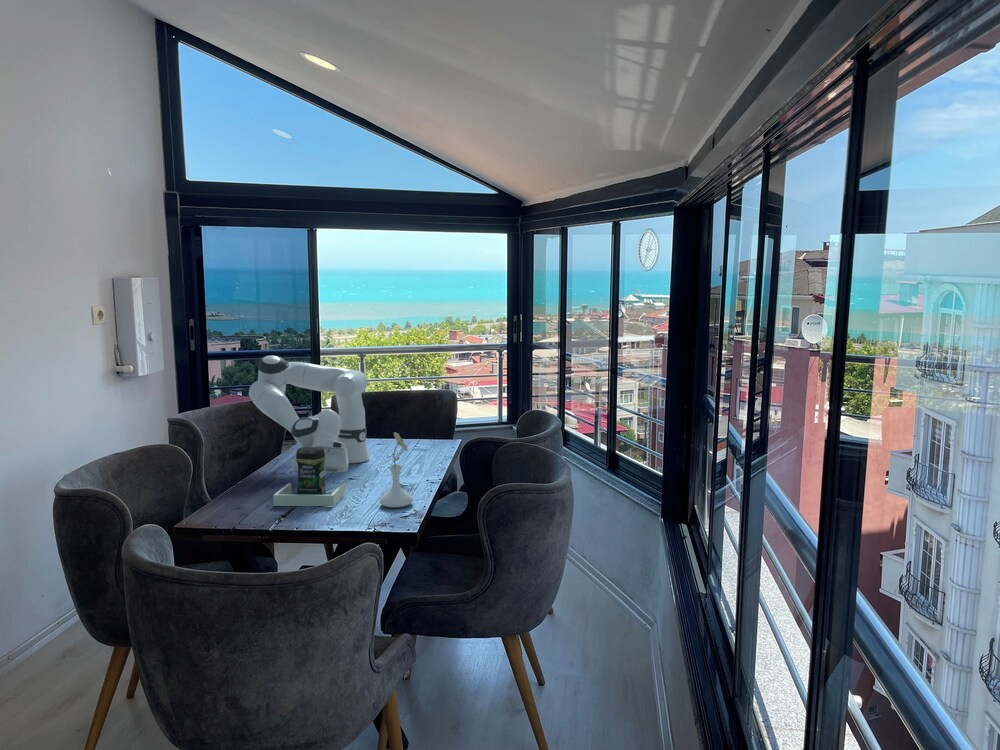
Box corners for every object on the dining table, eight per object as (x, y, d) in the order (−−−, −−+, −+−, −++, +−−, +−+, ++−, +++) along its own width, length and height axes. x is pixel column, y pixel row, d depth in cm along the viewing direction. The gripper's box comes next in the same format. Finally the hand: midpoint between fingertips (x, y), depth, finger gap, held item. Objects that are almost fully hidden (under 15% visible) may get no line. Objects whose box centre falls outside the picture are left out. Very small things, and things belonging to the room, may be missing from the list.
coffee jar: (293, 500, 229) (291, 449, 227) (304, 494, 237) (302, 444, 234) (319, 502, 227) (317, 450, 225) (329, 495, 235) (327, 445, 233)
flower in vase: (412, 510, 219) (411, 436, 216) (377, 511, 218) (376, 437, 215) (414, 498, 232) (413, 429, 229) (381, 499, 231) (380, 429, 228)
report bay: (288, 493, 237) (288, 483, 237) (344, 494, 236) (344, 483, 236) (273, 506, 223) (273, 495, 222) (333, 507, 222) (332, 495, 221)
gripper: (294, 443, 242) (285, 476, 234) (348, 444, 242) (342, 477, 233) (298, 452, 247) (290, 485, 239) (352, 453, 247) (345, 485, 238)
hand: (316, 481), depth 236 cm, fingers closed
